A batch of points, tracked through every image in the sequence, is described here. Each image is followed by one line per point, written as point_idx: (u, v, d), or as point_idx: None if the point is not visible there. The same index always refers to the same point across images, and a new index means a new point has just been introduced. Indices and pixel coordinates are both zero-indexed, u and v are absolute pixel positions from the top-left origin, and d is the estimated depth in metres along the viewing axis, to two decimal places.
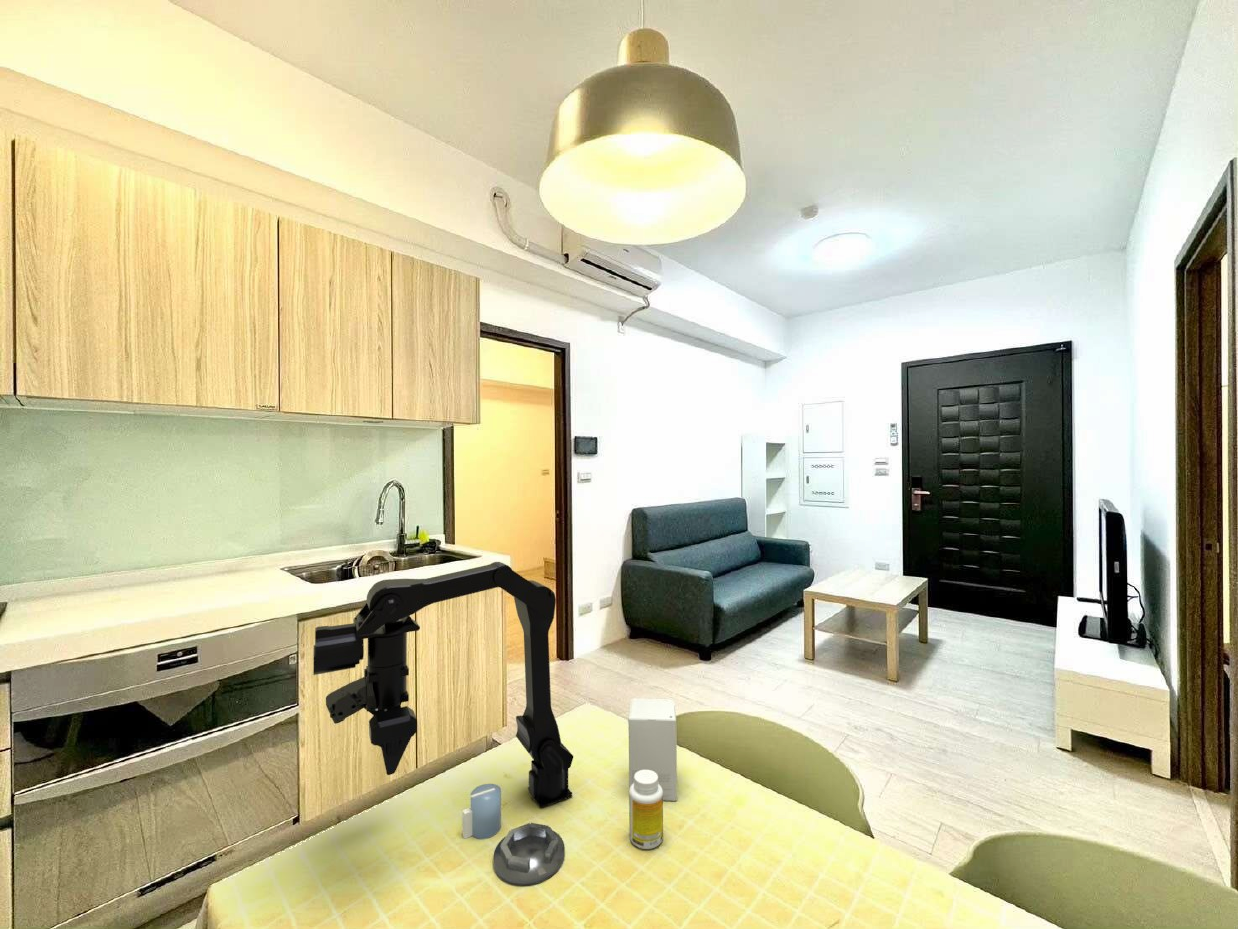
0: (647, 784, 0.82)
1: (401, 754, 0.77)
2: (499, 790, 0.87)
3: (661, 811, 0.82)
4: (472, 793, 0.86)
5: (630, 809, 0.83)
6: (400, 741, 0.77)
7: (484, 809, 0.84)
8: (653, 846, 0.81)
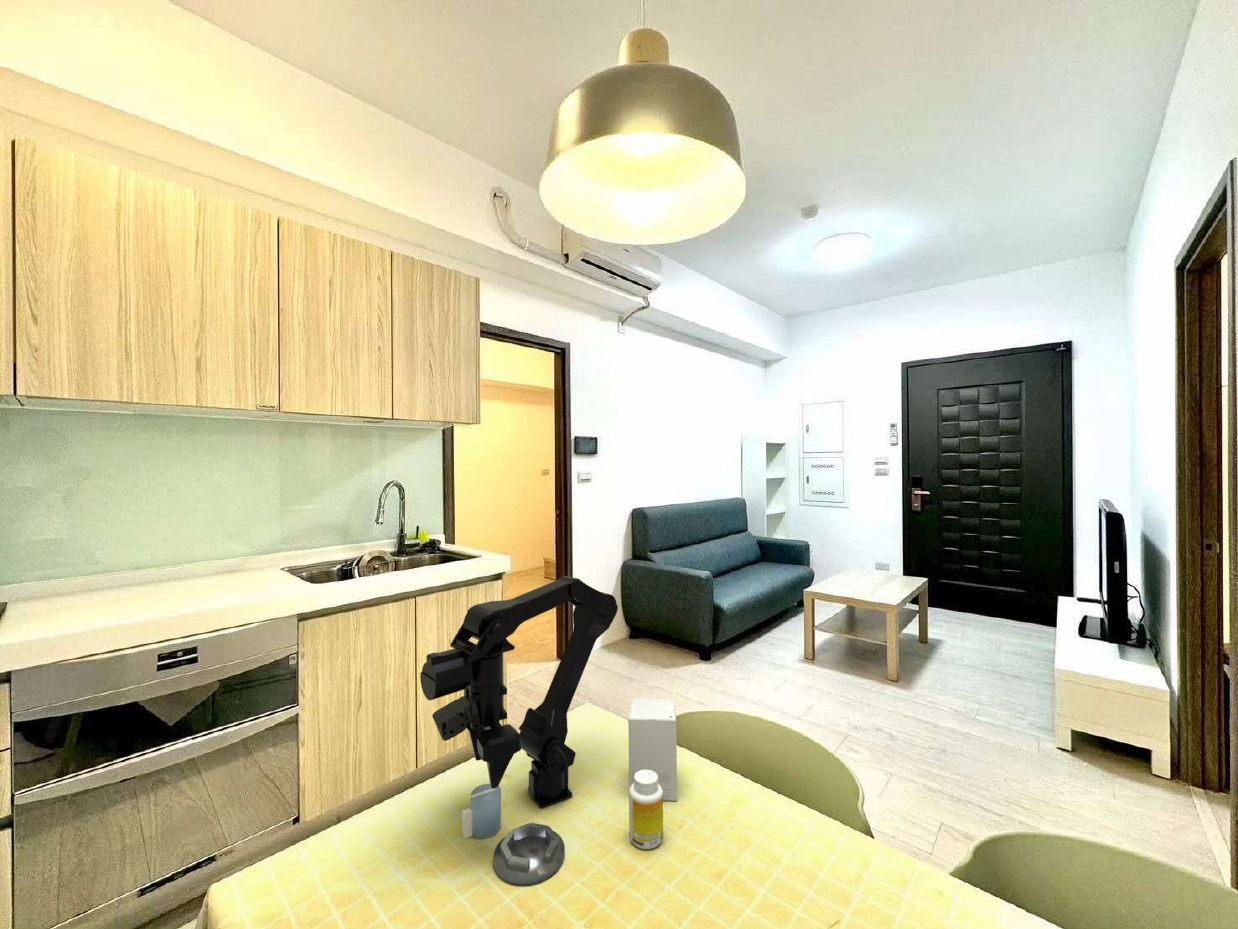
0: (647, 784, 0.82)
1: (504, 769, 0.82)
2: (499, 790, 0.87)
3: (661, 811, 0.82)
4: (472, 793, 0.86)
5: (630, 809, 0.83)
6: (504, 757, 0.82)
7: (484, 809, 0.84)
8: (653, 846, 0.81)
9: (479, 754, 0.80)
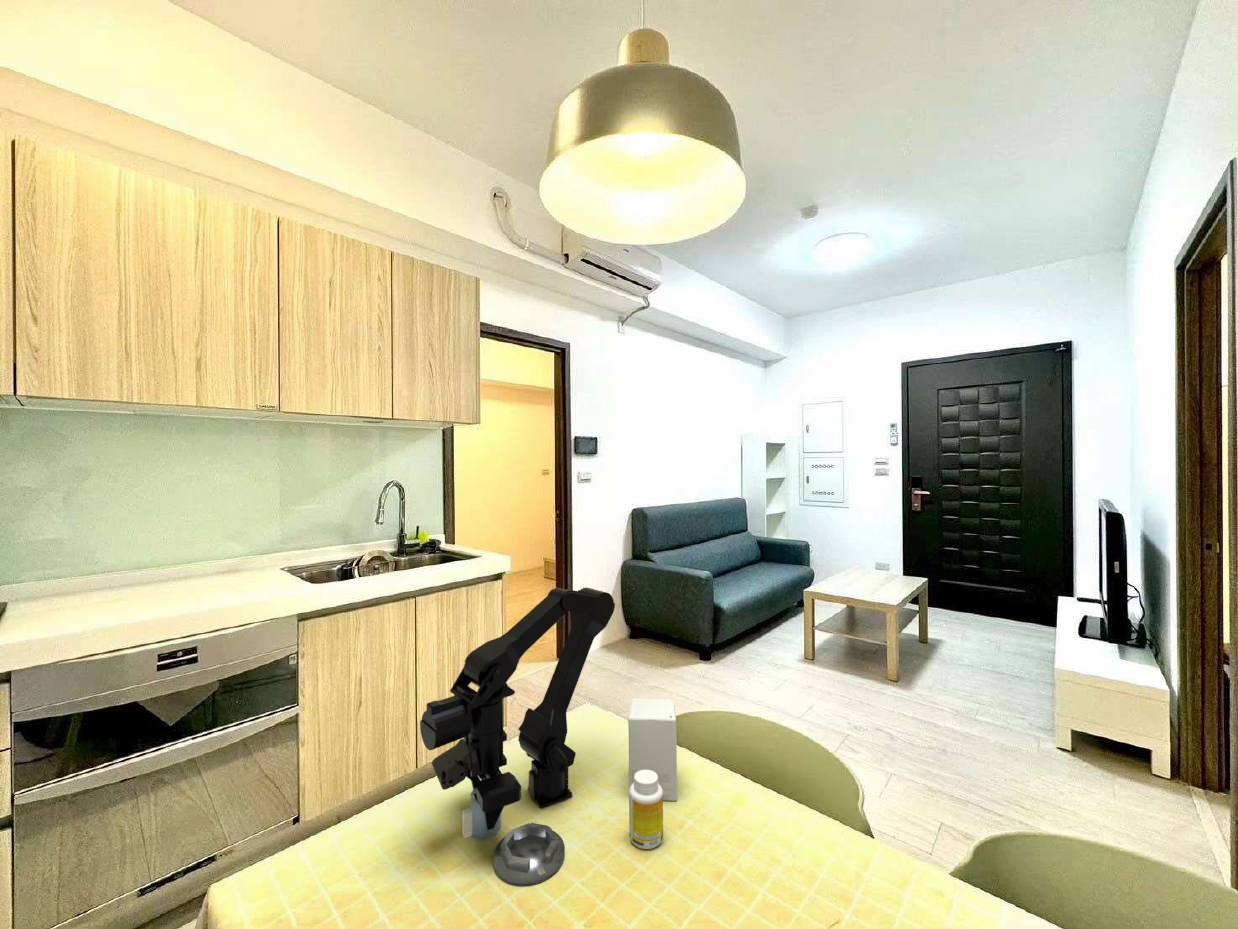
0: (647, 784, 0.82)
1: (500, 811, 0.84)
2: None
3: (661, 811, 0.82)
4: (472, 793, 0.86)
5: (630, 809, 0.83)
6: None
7: None
8: (653, 846, 0.81)
9: (475, 797, 0.81)
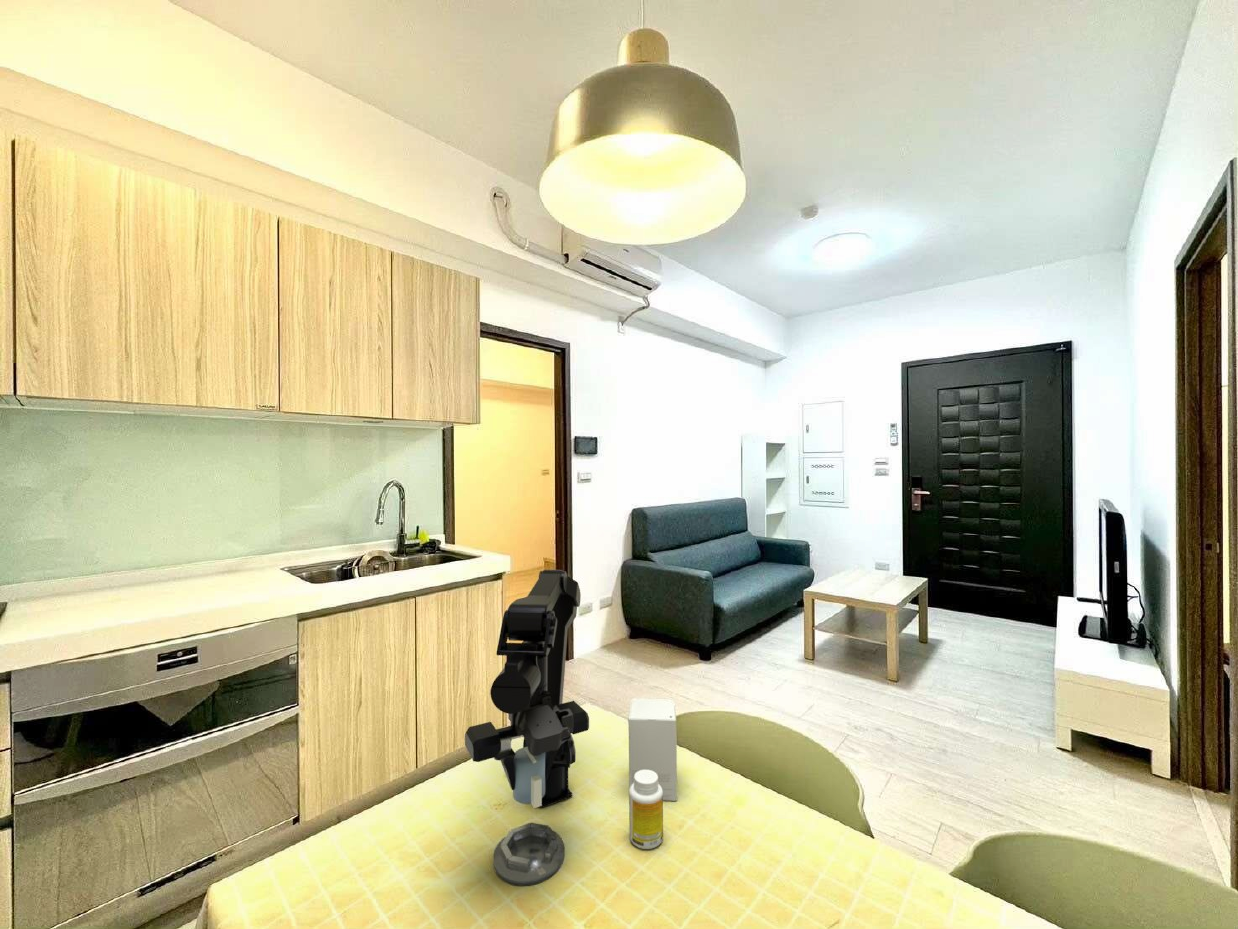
0: (647, 784, 0.82)
1: None
2: (527, 747, 0.82)
3: (661, 811, 0.82)
4: (527, 763, 0.78)
5: (630, 809, 0.83)
6: None
7: None
8: (653, 846, 0.81)
9: (561, 740, 0.80)
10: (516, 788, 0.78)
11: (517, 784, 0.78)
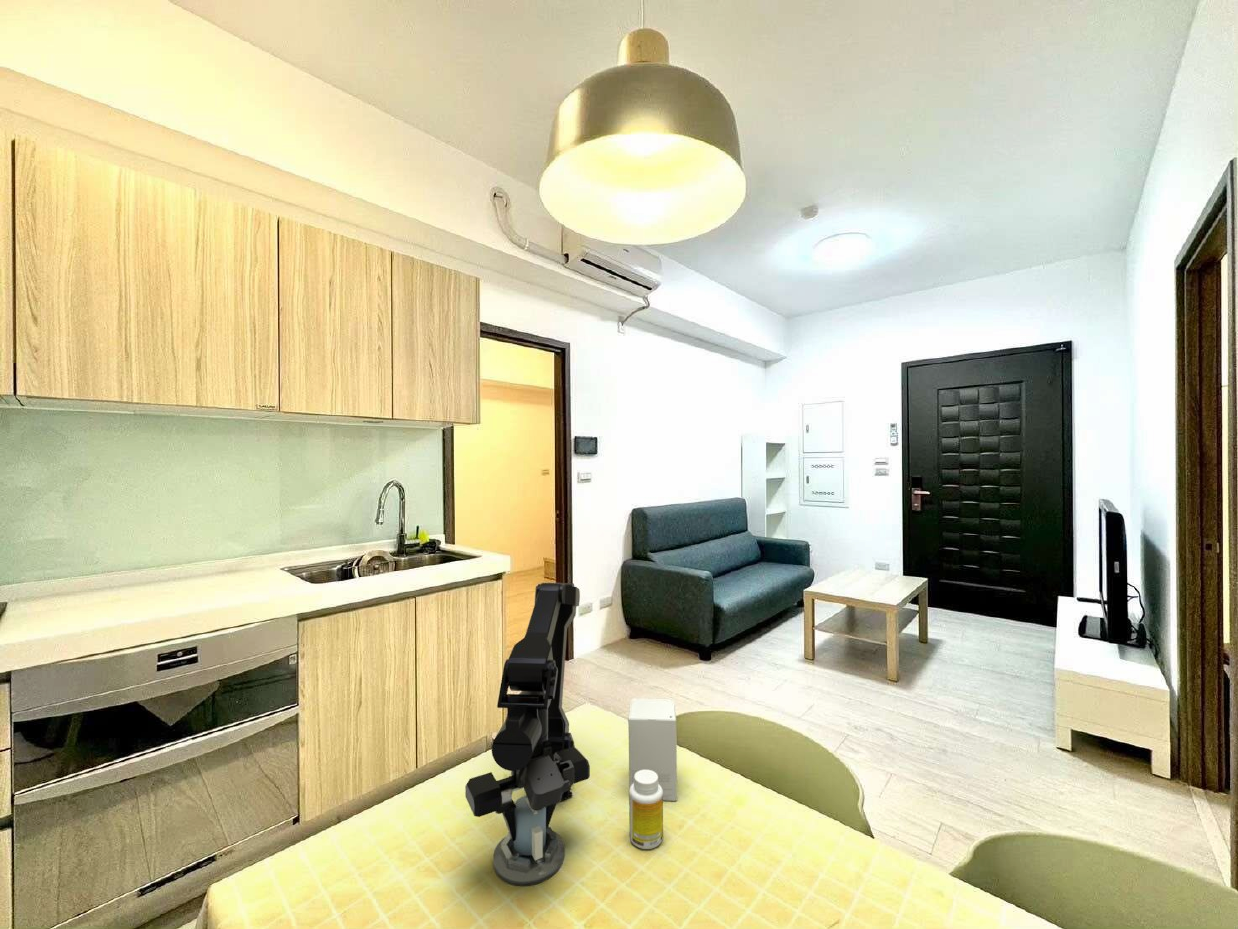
0: (647, 784, 0.82)
1: None
2: None
3: (661, 811, 0.82)
4: (528, 814, 0.77)
5: (630, 809, 0.83)
6: None
7: (545, 810, 0.80)
8: (653, 846, 0.81)
9: None
10: (517, 839, 0.78)
11: (518, 836, 0.78)
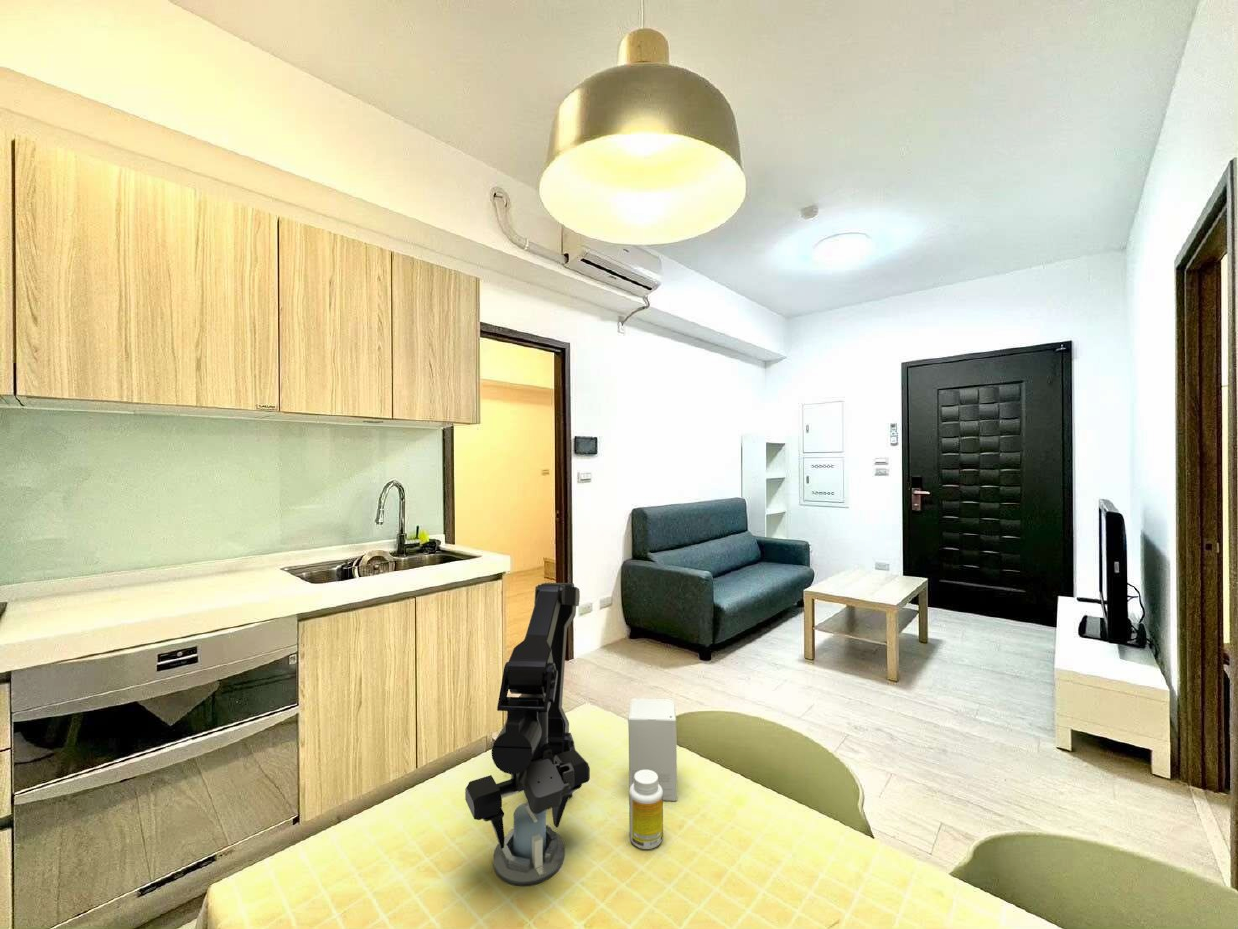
0: (647, 784, 0.82)
1: None
2: None
3: (661, 811, 0.82)
4: (528, 822, 0.77)
5: (630, 809, 0.83)
6: None
7: (545, 818, 0.80)
8: (653, 846, 0.81)
9: (572, 789, 0.80)
10: (517, 847, 0.78)
11: (518, 844, 0.78)
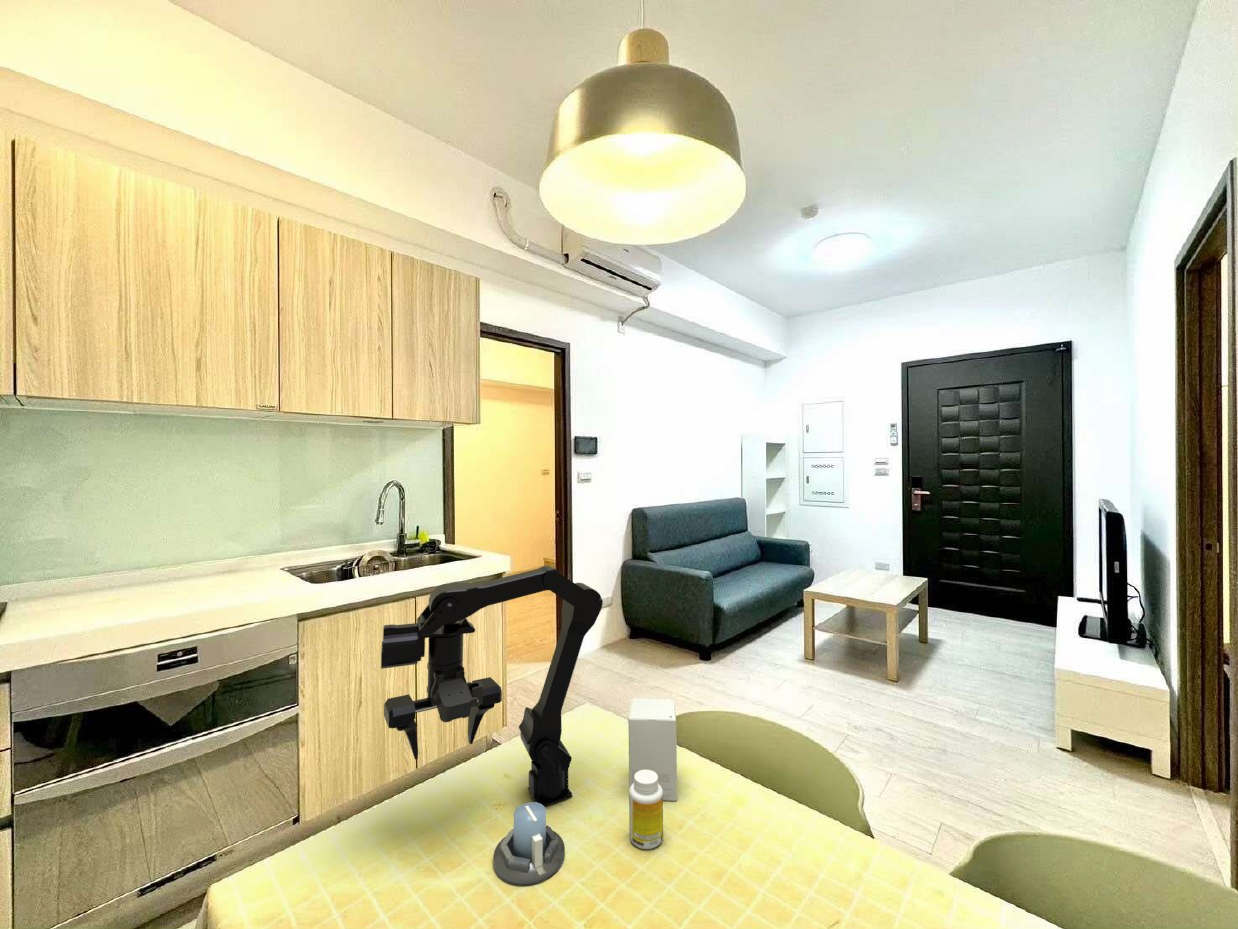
0: (647, 784, 0.82)
1: None
2: (528, 803, 0.82)
3: (661, 811, 0.82)
4: (528, 822, 0.77)
5: (630, 809, 0.83)
6: None
7: (545, 818, 0.80)
8: (653, 846, 0.81)
9: (485, 708, 0.89)
10: (517, 847, 0.78)
11: (518, 844, 0.78)
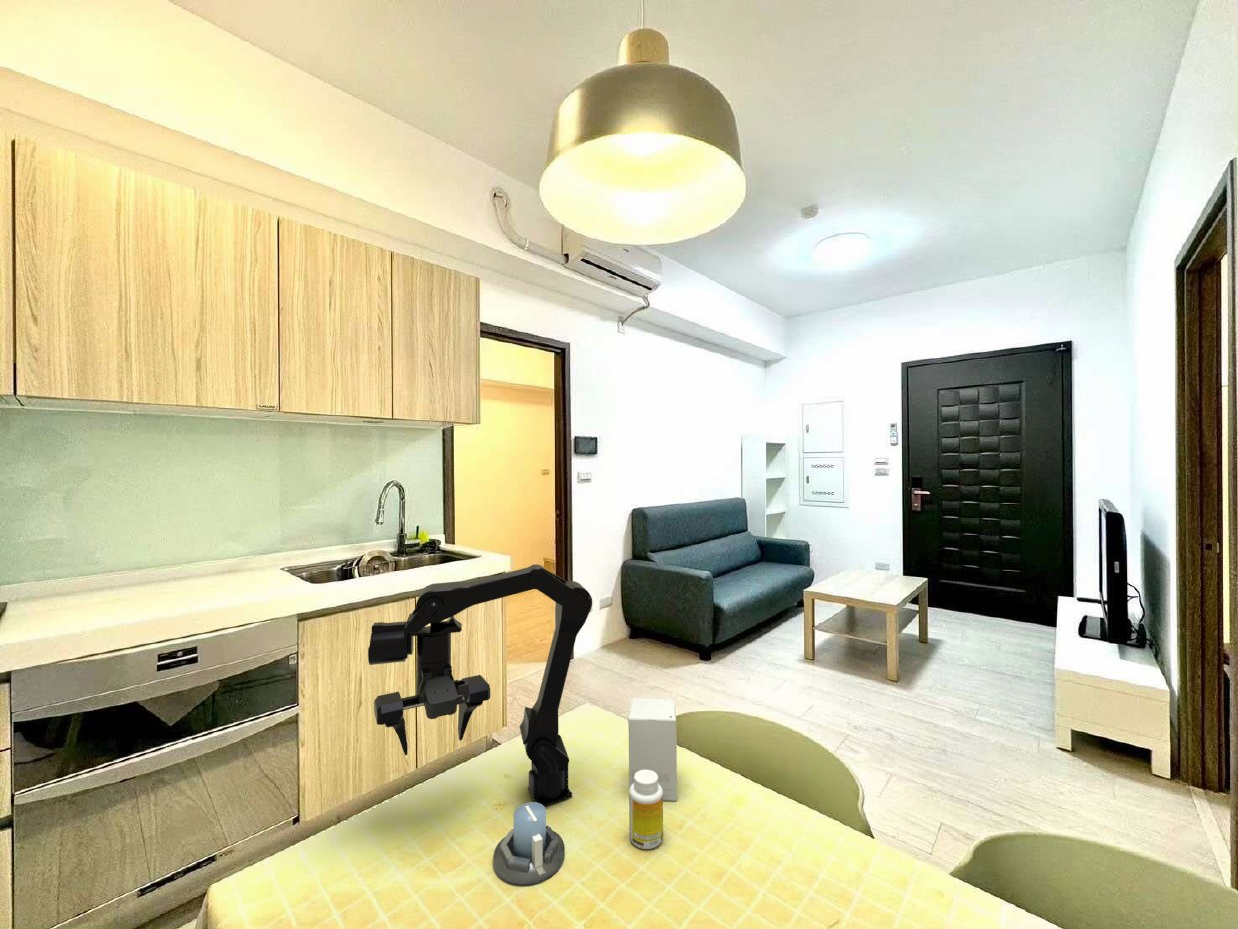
0: (647, 784, 0.82)
1: None
2: (528, 803, 0.82)
3: (661, 811, 0.82)
4: (528, 822, 0.77)
5: (630, 809, 0.83)
6: None
7: (545, 818, 0.80)
8: (653, 846, 0.81)
9: (473, 705, 0.90)
10: (517, 847, 0.78)
11: (518, 844, 0.78)
